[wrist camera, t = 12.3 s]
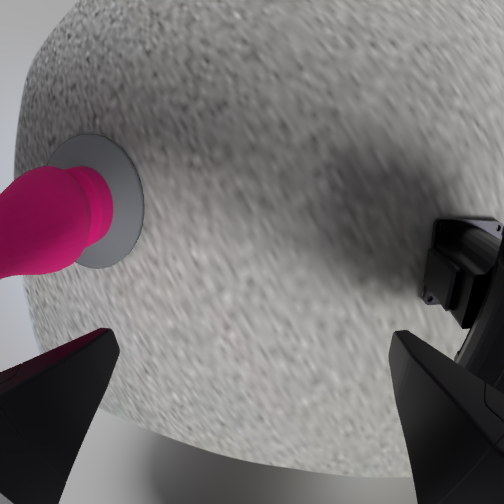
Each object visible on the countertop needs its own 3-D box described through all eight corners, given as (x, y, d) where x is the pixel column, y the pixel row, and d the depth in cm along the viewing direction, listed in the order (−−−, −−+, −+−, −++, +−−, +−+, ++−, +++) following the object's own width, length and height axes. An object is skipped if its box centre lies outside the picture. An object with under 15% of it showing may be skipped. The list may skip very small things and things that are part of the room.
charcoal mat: (136, 121, 18) (132, 121, 18) (154, 267, 22) (151, 270, 22) (39, 149, 20) (35, 150, 20) (59, 264, 24) (55, 266, 23)
